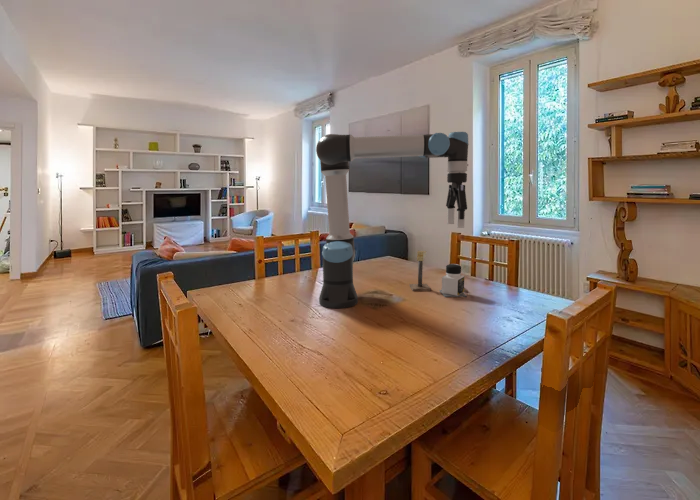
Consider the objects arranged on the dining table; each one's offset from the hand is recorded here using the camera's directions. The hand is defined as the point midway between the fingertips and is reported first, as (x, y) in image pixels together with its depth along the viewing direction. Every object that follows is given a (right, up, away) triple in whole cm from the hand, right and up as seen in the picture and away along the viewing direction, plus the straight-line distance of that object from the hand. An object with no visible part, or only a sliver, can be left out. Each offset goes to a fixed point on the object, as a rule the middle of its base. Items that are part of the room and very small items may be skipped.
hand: (455, 225), depth 155 cm
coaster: (0, -28, +5) cm, 29 cm away
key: (-11, -14, +15) cm, 23 cm away
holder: (-4, -27, +14) cm, 30 cm away
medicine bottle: (0, -28, +5) cm, 28 cm away
